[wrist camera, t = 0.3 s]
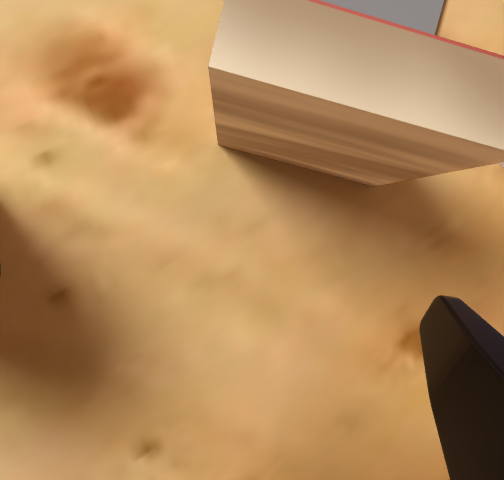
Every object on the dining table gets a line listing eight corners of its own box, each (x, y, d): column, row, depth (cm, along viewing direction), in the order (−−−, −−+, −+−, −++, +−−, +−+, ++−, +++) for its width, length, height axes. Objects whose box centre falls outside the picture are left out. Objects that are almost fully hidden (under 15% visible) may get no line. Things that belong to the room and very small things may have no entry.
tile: (373, 186, 23) (529, 156, 11) (218, 144, 23) (208, 66, 11) (385, 143, 23) (554, 66, 11) (229, 99, 22) (232, -31, 11)
